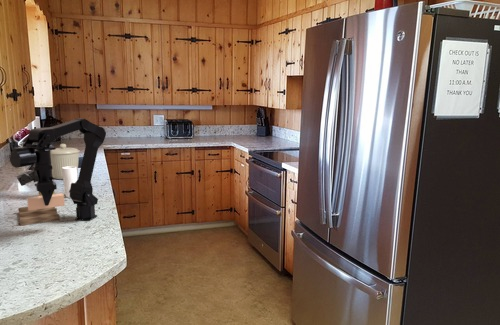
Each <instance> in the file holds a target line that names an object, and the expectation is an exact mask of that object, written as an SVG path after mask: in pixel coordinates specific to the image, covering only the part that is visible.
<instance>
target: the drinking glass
mask: <svg viewBox="0 0 500 325" xmlns="http://www.w3.org/2000/svg"><path fill="white" fill-rule="evenodd" d="M62 177H63V179H62V183H63V187H64V197H66V198H69V199H71V198H70V193H69V191H70V188H71V183H75V182H76V181H77V180H78V173H77V168H76V167H75V166H67V167H62Z"/></svg>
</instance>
